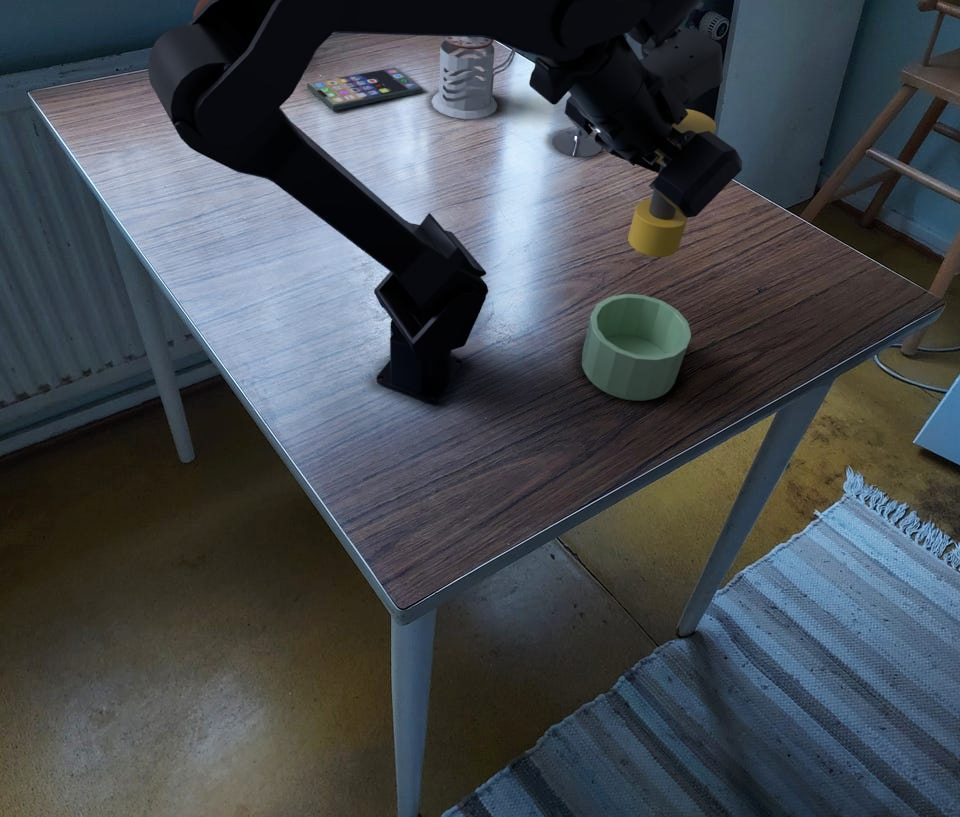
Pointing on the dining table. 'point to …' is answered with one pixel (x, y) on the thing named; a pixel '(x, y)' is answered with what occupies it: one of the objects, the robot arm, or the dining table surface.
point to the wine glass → (576, 142)
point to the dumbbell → (664, 206)
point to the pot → (635, 346)
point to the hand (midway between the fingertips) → (680, 182)
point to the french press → (467, 78)
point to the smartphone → (364, 88)
